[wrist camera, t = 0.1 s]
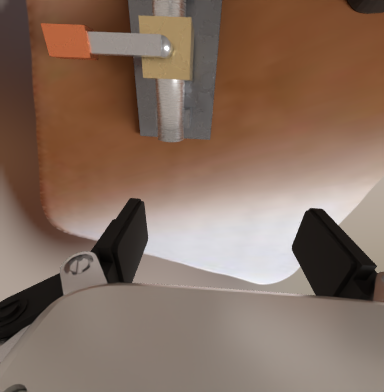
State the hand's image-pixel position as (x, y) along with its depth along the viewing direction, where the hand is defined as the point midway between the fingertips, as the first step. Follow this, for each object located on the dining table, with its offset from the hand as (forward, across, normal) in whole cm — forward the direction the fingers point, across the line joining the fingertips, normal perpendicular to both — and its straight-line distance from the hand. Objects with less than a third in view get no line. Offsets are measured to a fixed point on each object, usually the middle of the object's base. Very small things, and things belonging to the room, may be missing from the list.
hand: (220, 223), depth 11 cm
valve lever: (+21, +13, -11) cm, 27 cm away
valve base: (+31, +7, -11) cm, 34 cm away
